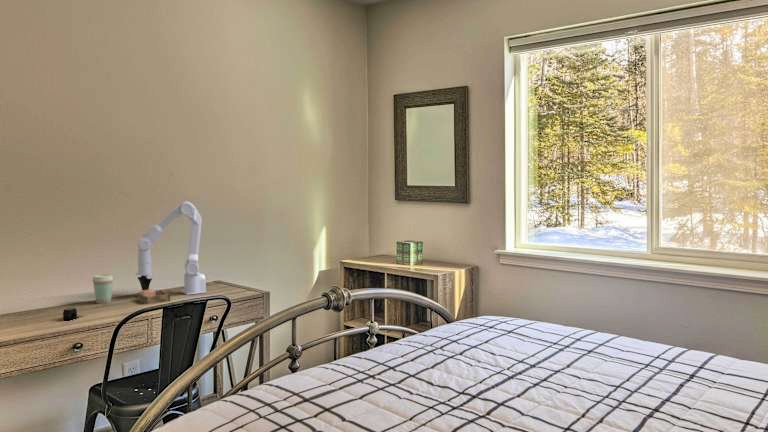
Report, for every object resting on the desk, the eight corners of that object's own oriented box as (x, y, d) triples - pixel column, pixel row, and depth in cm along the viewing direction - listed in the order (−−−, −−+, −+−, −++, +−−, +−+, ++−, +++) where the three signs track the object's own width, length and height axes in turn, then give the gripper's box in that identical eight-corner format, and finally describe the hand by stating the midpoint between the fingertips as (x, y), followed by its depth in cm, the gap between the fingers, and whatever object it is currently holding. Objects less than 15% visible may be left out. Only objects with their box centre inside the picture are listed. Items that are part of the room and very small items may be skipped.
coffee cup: (117, 300, 270) (117, 274, 269) (107, 304, 262) (106, 277, 261) (100, 299, 271) (99, 273, 270) (88, 304, 262) (88, 277, 261)
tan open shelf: (162, 296, 278) (161, 290, 278) (170, 300, 270) (170, 294, 270) (137, 299, 272) (137, 293, 271) (145, 304, 263) (145, 297, 263)
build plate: (73, 315, 244) (73, 304, 244) (89, 316, 243) (88, 305, 242) (50, 323, 232) (50, 311, 232) (67, 324, 231) (66, 312, 230)
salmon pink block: (151, 295, 281) (151, 289, 281) (155, 297, 276) (155, 291, 276) (140, 296, 278) (140, 290, 278) (144, 299, 273) (144, 292, 273)
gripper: (131, 261, 282) (131, 290, 283) (140, 266, 271) (141, 295, 272) (146, 260, 287) (147, 288, 288) (156, 264, 275) (157, 293, 276)
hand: (145, 291), depth 280 cm, fingers closed
